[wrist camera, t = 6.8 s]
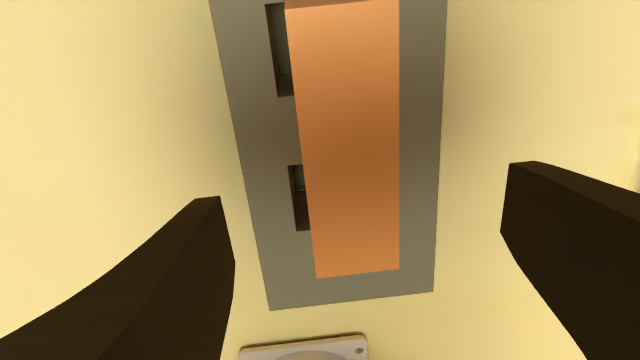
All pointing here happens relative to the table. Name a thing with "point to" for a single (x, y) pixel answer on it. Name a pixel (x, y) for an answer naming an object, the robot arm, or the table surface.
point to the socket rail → (285, 150)
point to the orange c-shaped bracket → (348, 129)
